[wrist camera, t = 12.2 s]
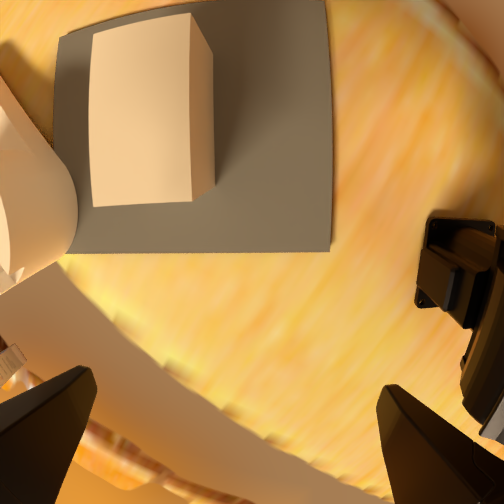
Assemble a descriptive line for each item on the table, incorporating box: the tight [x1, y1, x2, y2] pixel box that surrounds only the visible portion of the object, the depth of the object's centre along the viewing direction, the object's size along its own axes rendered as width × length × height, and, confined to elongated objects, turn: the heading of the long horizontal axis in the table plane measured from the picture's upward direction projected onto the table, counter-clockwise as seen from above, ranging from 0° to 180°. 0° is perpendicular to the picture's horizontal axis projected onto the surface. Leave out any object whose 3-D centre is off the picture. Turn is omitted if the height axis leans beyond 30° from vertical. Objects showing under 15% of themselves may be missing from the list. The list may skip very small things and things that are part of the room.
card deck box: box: [89, 13, 215, 207], centre depth 14 cm, size 8×4×6 cm, turn 1°
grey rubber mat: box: [53, 0, 332, 254], centre depth 17 cm, size 18×16×1 cm
